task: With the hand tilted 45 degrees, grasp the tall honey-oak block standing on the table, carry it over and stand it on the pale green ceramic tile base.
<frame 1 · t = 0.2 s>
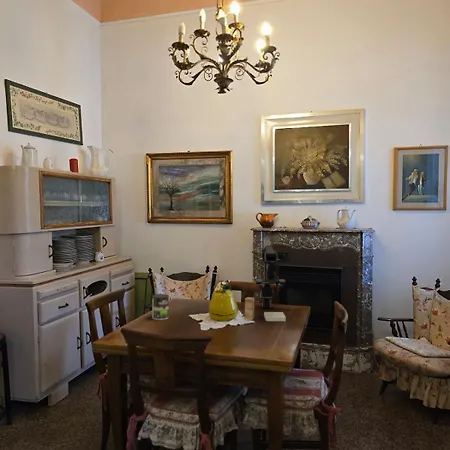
hand: (270, 295, 272), 14 cm above the table, tool pointing down, fingers open, 9 cm apart
coffee can: (160, 318, 271), on the table
tile base: (274, 318, 272), on the table
oak block: (249, 318, 270), on the table
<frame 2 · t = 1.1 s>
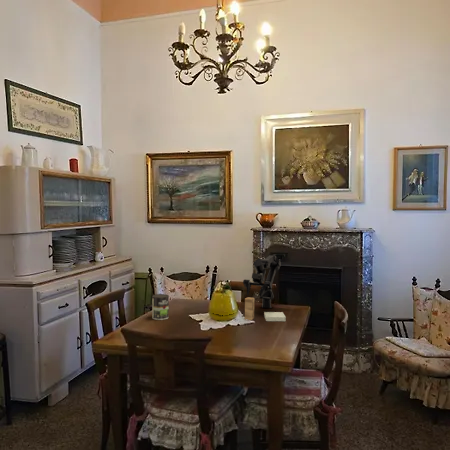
hand: (254, 295, 277), 13 cm above the table, tool tilted 45°, fingers open, 9 cm apart
nothing on the table moved.
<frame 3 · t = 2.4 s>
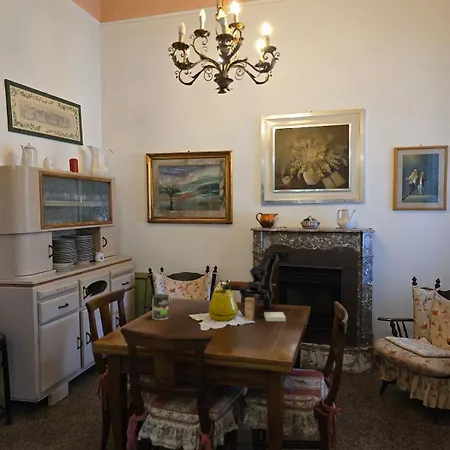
hand: (250, 304, 271), 9 cm above the table, tool tilted 45°, fingers open, 9 cm apart
nothing on the table moved.
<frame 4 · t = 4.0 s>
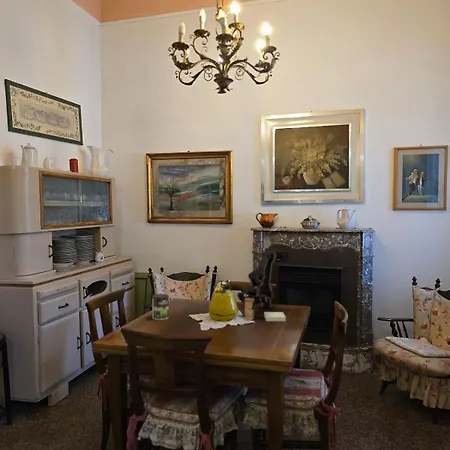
hand: (248, 308, 269), 7 cm above the table, tool tilted 45°, fingers closed on oak block, 4 cm apart
oak block: (249, 318, 270), on the table, touching gripper
everything else where it was.
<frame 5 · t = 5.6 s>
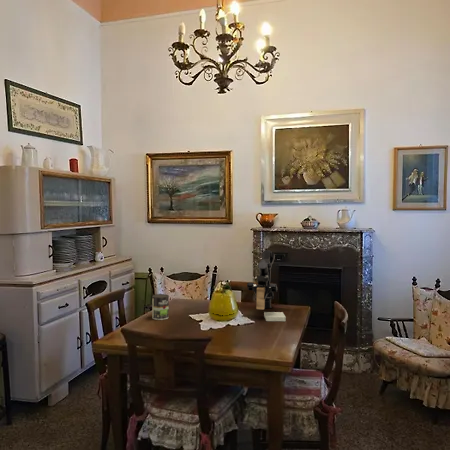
hand: (260, 298, 268), 13 cm above the table, tool tilted 45°, fingers closed on oak block, 4 cm apart
oak block: (260, 308, 270), point 7 cm above the table, touching gripper
everything else where it was.
when the fingers open (9 cm above the table, at t = 7.6 s): oak block stays where it is, resting on tile base.
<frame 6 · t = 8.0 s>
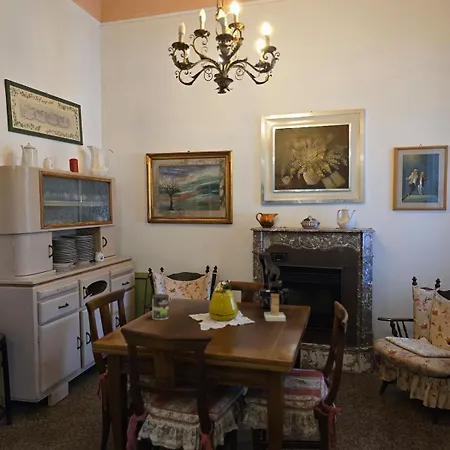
hand: (275, 304, 270), 10 cm above the table, tool tilted 45°, fingers open, 9 cm apart
oak block: (274, 314, 271), point 2 cm above the table, touching tile base
everything else where it was.
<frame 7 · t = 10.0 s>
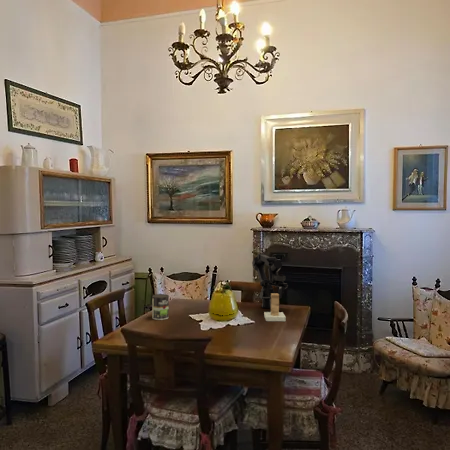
hand: (275, 296, 280), 12 cm above the table, tool tilted 30°, fingers open, 9 cm apart
nothing on the table moved.
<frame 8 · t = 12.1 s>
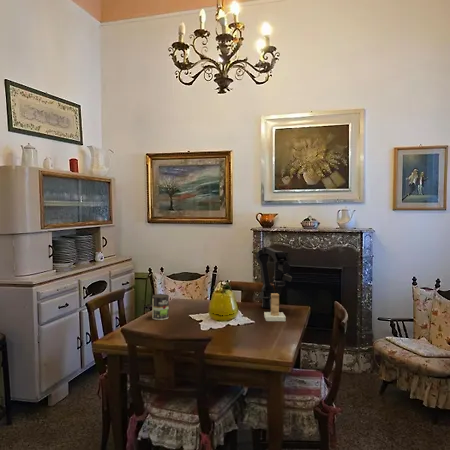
hand: (278, 293, 284), 13 cm above the table, tool pointing down, fingers open, 9 cm apart
nothing on the table moved.
at the end: oak block inside the target area on the tile base (0.0 cm from its centre), point 2.5 cm above the tile base's base; oak block tilted 0°; the gripper is holding nothing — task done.
